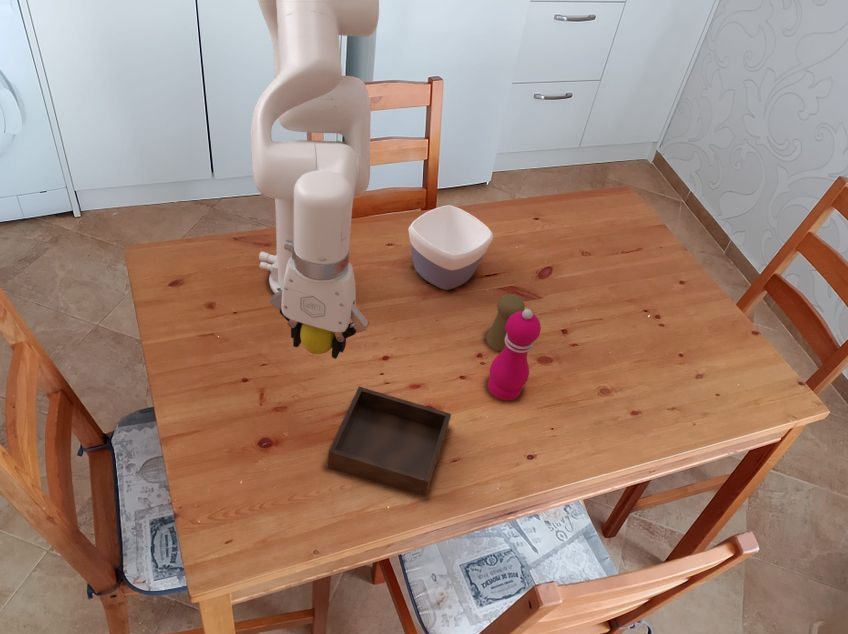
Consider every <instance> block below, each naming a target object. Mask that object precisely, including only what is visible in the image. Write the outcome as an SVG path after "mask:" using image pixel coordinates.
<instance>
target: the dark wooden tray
mask: <svg viewBox="0 0 848 634" xmlns="http://www.w3.org/2000/svg"><path fill="white" fill-rule="evenodd" d="M451 417H452V414H451V413H449V412H446V411H443V410H440V409H436V408H433V407H430V406H427V405H423V404H420V403H416V402H414V401H413V402H412V401H410V400H405V399H403V398H400V397H396V396H392V395H389V394H385V393H382V392H379V391H376V390H372V389H369V388H366V387H362V386H358V387H357V389H356V392H355V394H354V396H353V398H352V400H351V402H350V404H349V406H348V408H347V411H346V412H345V415H344V417H343V419H342V421H341V424H340V425H339V428H338V430H337V432H336V434H335V436H334V438H333V441H332V443H331V445H330V447H329V449H328V453H327V454H328V455H327V468H330V469H333V470H335V471H339V472H343V473H346V474H349V475H353V476H356V477H359V478H362V479H365V480H369V481H371V482H375V483H377V484H382V485H385V486H388V487H391V488H394V489H395V488H396V489H398V490H402V491H405V492H408V493H412V494H415V495H418V496H421V497H426V496H427V493H428V489H429V488H430V484H431V481H432V478H433V474H434V471H435V468H436V465H437V462H438V459H439V456H440V452H441V450H442V447H443V444H444V441H445V437H446V435H447V432H448V428H449V424H450V421H451Z"/></svg>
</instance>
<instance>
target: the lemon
mask: <svg viewBox="0 0 848 634" xmlns="http://www.w3.org/2000/svg"><path fill="white" fill-rule="evenodd" d="M334 337H335V334H334V332H332V331H328V330H325V329H321V328H317V327H314V326H311V325H307V324H304V323H302V325H301V330H300V338H301V344H302V346H303V348H304V349H305V350H306V351H308V352H309V353H311V354H313V355H323V354H326V353H328V352H329V351H330V350H332V342H333V339H334Z"/></svg>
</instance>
